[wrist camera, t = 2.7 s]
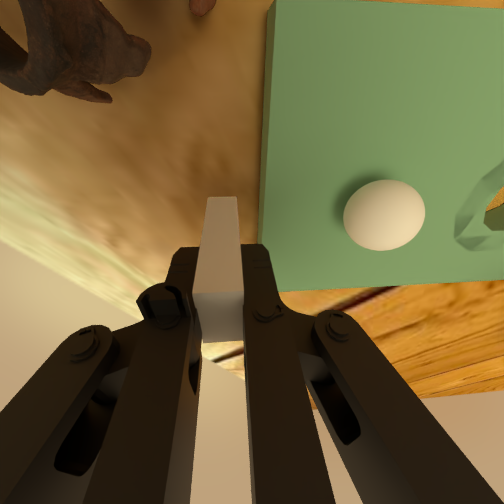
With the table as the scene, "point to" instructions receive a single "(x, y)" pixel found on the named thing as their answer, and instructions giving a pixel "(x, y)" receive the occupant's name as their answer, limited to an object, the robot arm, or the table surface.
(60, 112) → the table surface
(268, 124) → the green
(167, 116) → the table surface
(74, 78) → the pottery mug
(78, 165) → the table surface
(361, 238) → the ball
